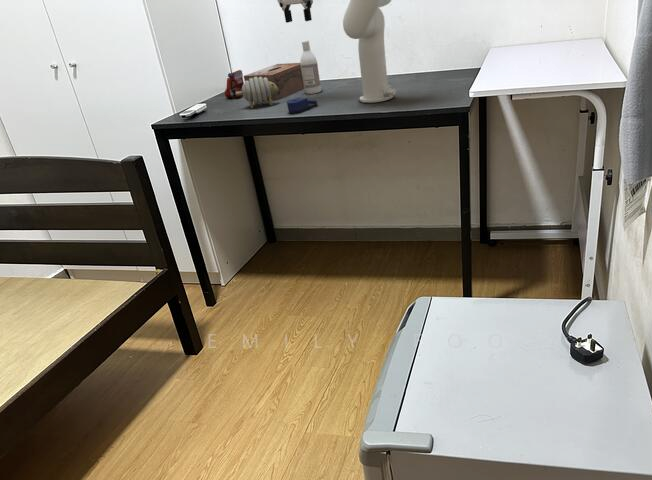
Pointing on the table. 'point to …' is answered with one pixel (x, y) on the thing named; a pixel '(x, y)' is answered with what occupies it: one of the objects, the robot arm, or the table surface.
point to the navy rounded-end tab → (300, 105)
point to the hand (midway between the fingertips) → (298, 21)
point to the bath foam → (309, 70)
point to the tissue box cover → (281, 78)
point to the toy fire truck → (234, 84)
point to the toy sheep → (258, 91)
